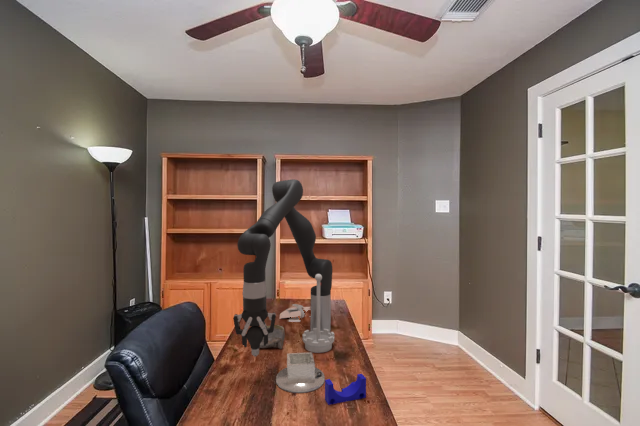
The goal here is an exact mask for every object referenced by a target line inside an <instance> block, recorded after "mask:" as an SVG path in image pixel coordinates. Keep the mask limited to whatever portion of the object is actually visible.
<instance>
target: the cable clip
mask: <svg viewBox="0 0 640 426" xmlns="http://www.w3.org/2000/svg"><path fill="white" fill-rule="evenodd" d="M365 398H367V378H366V376H365V375H363V373H357V375H356V380H355V381H352V382H351V383H350V384H348V385H347V386H346V387H344V388H342V389H341V391H339V390H336V389H335V388H334V383H333V381H332V380H331V379H330V378H328V379H325V381H324V400H325V402H326V404H327V405H328V406H331V405H335V404H340V403H346V402H351V401H354V400H355V401H356V400H360V399H365Z"/></svg>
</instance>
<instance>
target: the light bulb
mask: <svg viewBox="0 0 640 426" xmlns="http://www.w3.org/2000/svg"><path fill="white" fill-rule="evenodd" d="M246 336H247V343H248V344H249V345H250V349H251V356H253V357H254V358H255V357H257V356H259V354H260V348H259V347H260V343H261V341H262V340H263V337H264V332H263V330H262V329H261V327H260V326H249V328H248V330H247V332H246Z"/></svg>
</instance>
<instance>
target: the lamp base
mask: <svg viewBox="0 0 640 426" xmlns="http://www.w3.org/2000/svg"><path fill="white" fill-rule="evenodd" d="M286 356H287V357H286V367H284V368H283V369H281V370H280V371H278V373H277V374H276V377H275V382H276V385H277V386H278V388H280V389H281V390H282V391H285V392H288V393H294V394H304V393H305V394H306V393H311V392H314V391H316V390H318V389H320V388H321V387H322V386H324V385H325V380H326V379H325V373H324V372H323V371H322V370H321V369H319V368H318V367H316V365H315V359H314V354H313V352H310V351H308V352H292V353H286Z"/></svg>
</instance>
